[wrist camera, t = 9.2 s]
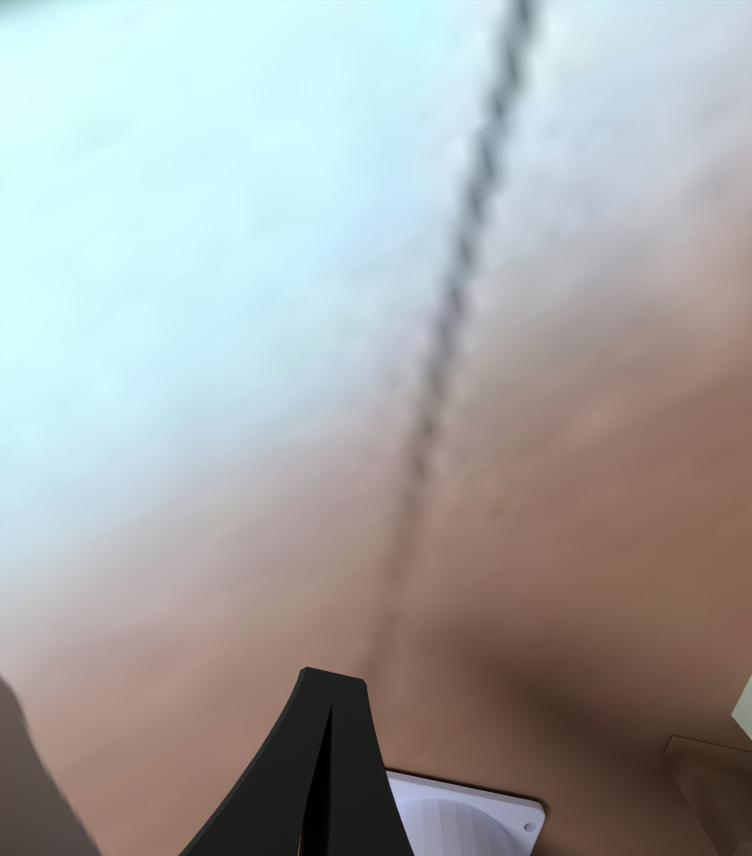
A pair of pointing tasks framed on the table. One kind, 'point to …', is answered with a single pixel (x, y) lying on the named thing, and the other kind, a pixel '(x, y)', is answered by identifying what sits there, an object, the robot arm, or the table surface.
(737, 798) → the wooden tray
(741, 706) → the t block
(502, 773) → the table surface
